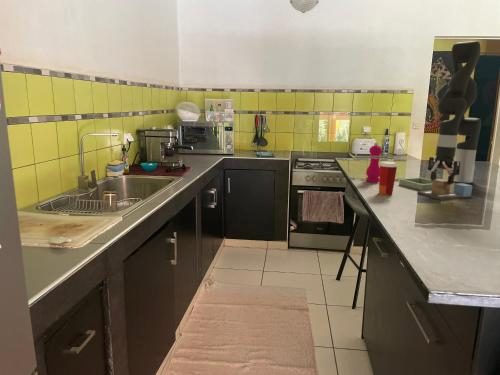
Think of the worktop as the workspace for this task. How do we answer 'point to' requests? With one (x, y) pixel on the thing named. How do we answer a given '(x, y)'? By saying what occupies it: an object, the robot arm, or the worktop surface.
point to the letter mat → (440, 197)
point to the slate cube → (463, 189)
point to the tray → (417, 183)
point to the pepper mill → (374, 164)
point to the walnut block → (440, 187)
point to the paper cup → (387, 177)
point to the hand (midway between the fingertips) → (441, 182)
